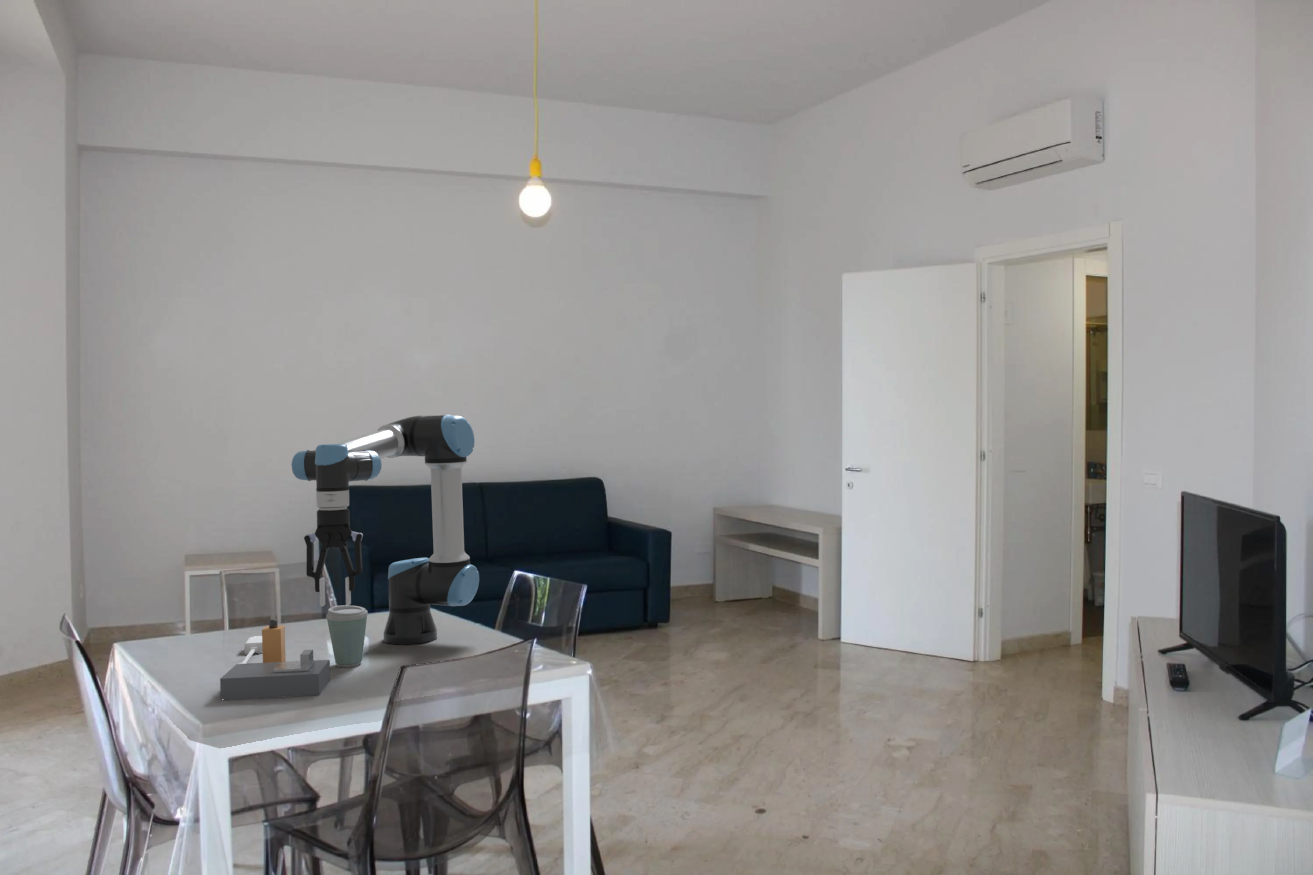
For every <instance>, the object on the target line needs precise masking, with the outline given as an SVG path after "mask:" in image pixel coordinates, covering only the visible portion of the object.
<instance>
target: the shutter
mask: <svg viewBox="0 0 1313 875" xmlns="http://www.w3.org/2000/svg"><path fill="white" fill-rule="evenodd" d="M299 658H300V659H299V660H293V661H286V662H280V663H279V664H278V665H277V666H276V667H275V668H274V669H273V673H275V672H296V671H308V670H309V669H310V668H311V667H312V665H313V664H314V663H315V660H314V649H303V651H302V652H300V654H299Z"/></svg>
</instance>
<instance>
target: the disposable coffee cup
mask: <svg viewBox="0 0 1313 875" xmlns="http://www.w3.org/2000/svg"><path fill="white" fill-rule="evenodd" d="M325 619H326V621H327V626H328V631H329V636H330V642H331V645H332V646H331V647H332V653H333V657H334V661H335V662H334V663H335V664H336V666H337V667H339V666H340V667H339V668H352V667H356V666H360V665H361V664H362V661H363V655H364V646H365V639H366V637H365V636H366V629H367V621H368V620H367V619H368V610H367V609H366V608H365V607H363V606H358V605H346V604H345V605H333V606H331V607H329V608H328V609H327V613H326V614H325ZM359 664H360V665H359Z"/></svg>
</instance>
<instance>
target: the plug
mask: <svg viewBox="0 0 1313 875" xmlns="http://www.w3.org/2000/svg"><path fill="white" fill-rule="evenodd" d="M278 624H279V623H278V618H271V619H269V620H268V625H266V626H265V627H263V628H262V629H261V636H262V650H263V653H262V663H270V662H287V661H286V660H287V659H286V658H287V657H286V656H287V655H286V630H285V629H286V627H285V626H286V625H278Z"/></svg>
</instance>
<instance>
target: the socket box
mask: <svg viewBox="0 0 1313 875" xmlns="http://www.w3.org/2000/svg"><path fill="white" fill-rule="evenodd" d="M330 660H331V659H317V660H315V663H314V664H313V665H312V667H311V668H310V669H309V670H308V671H296V672H275V673H273V669H274V668H275V667H276V666H277V665H278V664H279V663H280V662H270V663H263V662H254V663H253V662H252V663H247V664H238V663H236V664H235V665H234V666H232V667H231V669H229V670H228V671H227V672H226V673H224V675H223V676H222V677H220V678H219V679H220V680H219V681H220V682H219V683H220V684H219V686H220V692H219V693H220V701H223V700H222V699H235V700H250V699H253V700H254V699H270V698H273V699H274V698H289V697H291V698H292V697H306V696H307V697H308V696H309V697H310V696H320V695H321V693H322V692H323V691H324V689H325V688H326V686H327V685H328V684H329V682H330V681H331V665H330V664H331V663H330Z"/></svg>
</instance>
